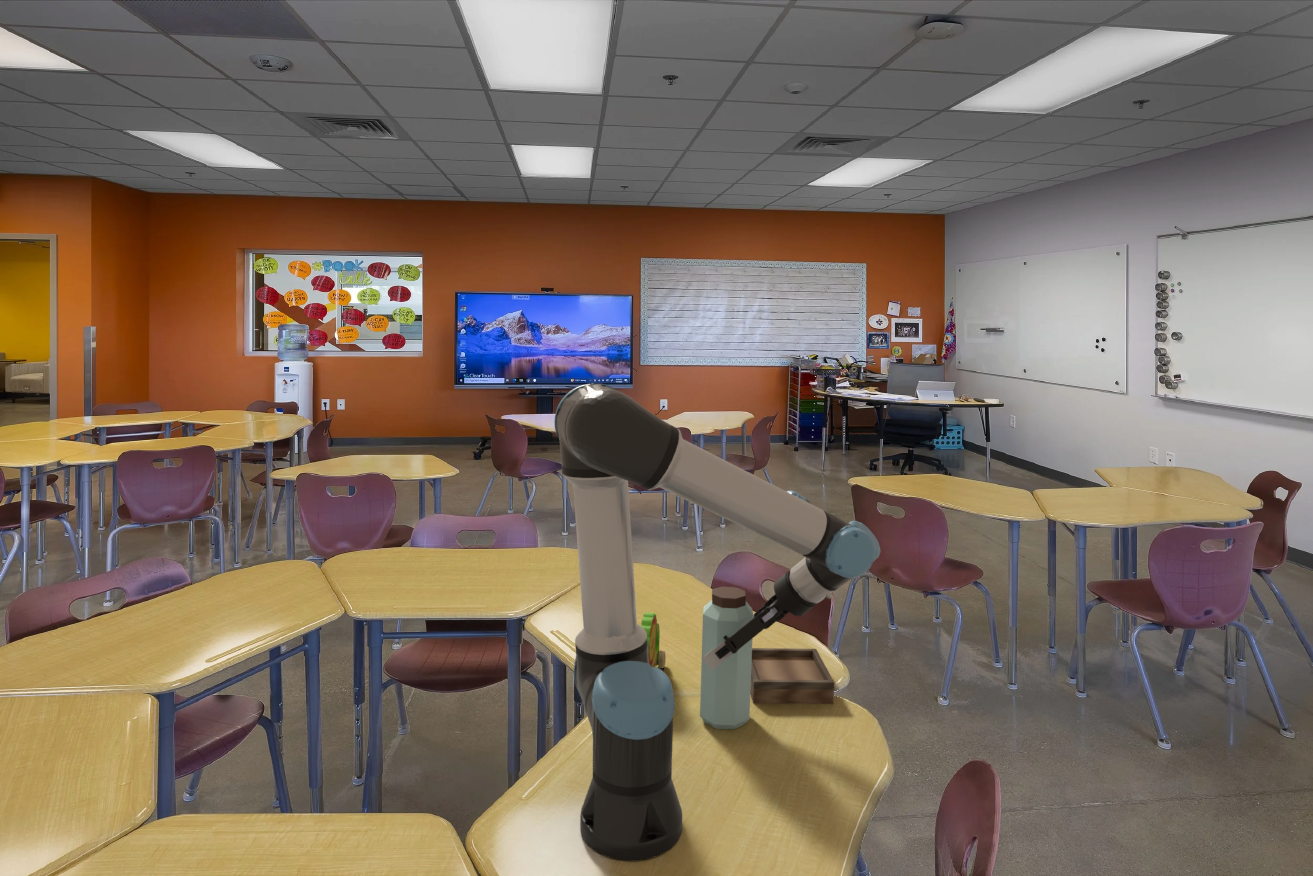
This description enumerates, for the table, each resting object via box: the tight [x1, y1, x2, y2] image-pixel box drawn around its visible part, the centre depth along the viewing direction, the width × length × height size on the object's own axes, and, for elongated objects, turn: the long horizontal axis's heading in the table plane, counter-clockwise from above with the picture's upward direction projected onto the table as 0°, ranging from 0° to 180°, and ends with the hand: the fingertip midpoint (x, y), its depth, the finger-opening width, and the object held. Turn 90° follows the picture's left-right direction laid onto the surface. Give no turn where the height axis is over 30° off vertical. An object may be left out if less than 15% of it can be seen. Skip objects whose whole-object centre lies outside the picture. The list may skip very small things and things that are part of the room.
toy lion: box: [640, 611, 667, 669], centre depth 161 cm, size 16×5×15 cm, turn 171°
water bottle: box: [699, 586, 754, 730], centre depth 145 cm, size 10×10×25 cm
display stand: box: [750, 647, 835, 705], centre depth 161 cm, size 16×16×4 cm
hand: (722, 649), depth 145 cm, fingers open, 13 cm apart
